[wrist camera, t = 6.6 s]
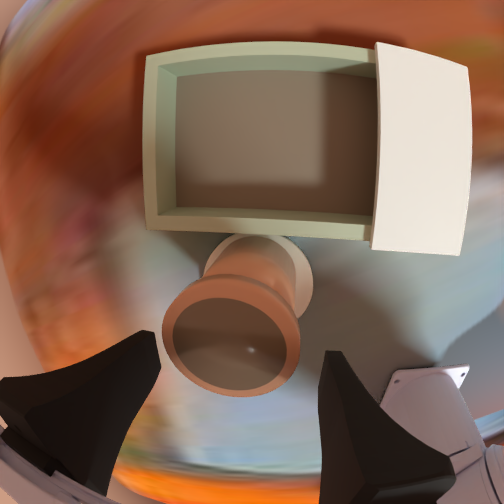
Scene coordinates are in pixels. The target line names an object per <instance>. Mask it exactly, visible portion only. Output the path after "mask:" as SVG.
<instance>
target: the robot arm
mask: <svg viewBox="0 0 504 504" xmlns="http://www.w3.org/2000/svg"><path fill="white" fill-rule="evenodd" d="M160 370H161V363H160V359H159V354H158V349H157V344H156V339H155V334H154V332H151V331H145V330H141V331H139V332H137V333H135V334H133V335H131V336H129V337H128V338H126V339H124V340H122V341H121V342H119V343H117V344H115V345H113V346H111V347H110V348H108V349H106V350H104V351H102V352H100V353H98V354H96V355H94V356H92V357H90V358H88V359H86V360H83V361H81V362H79V363H76V364H73V365H71V366H68V367H65V368H62V369H58V370H54V371H51V372H47V373H42V374H37V375H30V376H22V377H4V378H3V379H2V380H1V381H0V416H1V417H2V418H3V420H4V421H5V423H6V424H7V425H8V427H7V428H6V429H4V428H3V427H2V426H1V425H0V487H1V488H2V489H3V490H4V491H5V492H6V493H7V494H8V495H9V496H11V497H12V498H13V499H14V500H15V501H16V502H17V503H18V504H81V503H82V504H120V503H118V502H115V501H113V500H111V499H109V498H106V495H107V490H108V486H109V482H110V478H111V475H112V471H113V468H114V465H115V462H116V459H117V456H118V453H119V451H120V448H121V446H122V443H123V441H124V438H125V436H126V434H127V431H128V429H129V427H130V425H131V423H132V421H133V420H134V418H135V416H136V415H137V413H138V411H139V410H140V408H141V406H142V405H143V403H144V401H145V400H146V398H147V397H148V395H149V393H150V391H151V390H152V388H153V386H154V384H155V382H156V380H157V377H158V375H159V372H160ZM468 370H469V365H468V364H460V365H452V366H443V367H433V368H422V369H408V370H397V371H395V372H394V373H393V375H392V377H391V380H390V383H389V385H388V387H387V390H386V392H385V395H384V397H383V399H382V402H381V404H380V406H379V405H378V403H377V402H376V401H375V400H374V399H373V397H372V396H371V395H370V394H369V393H368V391H367V390H366V389H365V387H364V386H363V384H362V383H361V382H360V380H359V379H358V377H357V376H356V374H355V373H354V371H353V370H352V368H351V367H350V365H349V363H348V362H347V360H346V358H345V357H344V355H343V353H342V352H341V351H326V352H325V357H324V362H323V367H322V372H321V377H320V381H319V386H318V415H319V425H320V436H321V448H322V470H321V485H320V497H319V504H504V446H500V445H495V444H493V445H491V446H490V447H489V448H486V447H485V444H484V442H483V440H482V437H481V435H480V433H479V431H478V428H477V426H476V424H475V422H474V420H473V418H472V415H471V413H470V411H469V409H468V407H467V405H466V403H465V401H464V399H463V397H462V395H461V393H460V391H459V388H460V386H461V384H462V382H463V380H464V378H465V376H466V374H467V372H468ZM395 380H397V381H395Z"/></svg>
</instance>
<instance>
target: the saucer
mask: <svg viewBox="0 0 504 504" xmlns="http://www.w3.org/2000/svg"><path fill="white" fill-rule="evenodd" d="M248 236H260V237H265V238H268V239H271V240H273V241H275V242H277V243H278V244H280V245H281V246H282V247H283V248H284V249H285V250H286V251H287V252H288V253H289V255H290V256H291V258H292V260H293V262H294V265H295V269H296V290H295V312H294V313H295V315H296V317H297V319H298V318H299V317H300V316H301V315H302V314H303V313H304V311H305V310H306V309H307V307H308V305H309V303H310V300H311V297H312V293H313V276H312V270H311V267H310V264H309V262H308V259H307V258H306V256H305V254H304V253H303V252H302V250H301V249H300V248H299V247H298V246H297V245H296V244H295V243H294V242H292V241H291V240H290V239H288V238H287V237H285V236H281V235H262V234H242V233H236V234H233V235H231V236H229V237H228V238H226V239H225V240H224V241H222V242H221V243H220V244H219V245H218V246H217V247H216V248H215V250H214V251H213V252H212V254H211V255H210V257H209V259H208V261H207V263H206V266H205V270H204V274H205V273H206V271H207V270H208V269H209V268H210V266H211V265H212V264H213V263H214V261H215V260H216V259H217V257H218V256H219V255H220V254H221V252H222V251H223V250H224V249H225V248H226V247H227V246H228V245H229V244H230V243H232V242H233V241H235V240H237V239H240V238H243V237H248Z"/></svg>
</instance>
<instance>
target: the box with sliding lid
mask: <svg viewBox="0 0 504 504" xmlns="http://www.w3.org/2000/svg"><path fill="white" fill-rule="evenodd" d="M374 47H375V50H372V49H366V48H359V47H352V46H344V45H335V44H324V43H310V42H282V41H269V42H241V43H227V44H216V45H207V46H199V47H192V48H185V49H179V50H173V51H168V52H162V53H157V54H153V55H148V56H146V66H145V79H144V97H143V135H142V150H143V188H144V207H145V222H146V230H171V231H197V232H221V233H242V234H262V235H281V236H299V237H316V238H333V239H348V240H363V241H370V245H369V247H370V248H371V249H372V250H385V251H401V252H415V253H430V254H444V255H458V256H459V255H460V250H461V245H462V240H463V235H464V229H465V222H466V215H467V208H468V200H469V190H470V178H471V161H472V113H471V97H470V86H469V77H468V69H467V67H465V66H463V65H460V64H457V63H454V62H452V61H449V60H446V59H443V58H440V57H436V56H433V55H430V54H426V53H423V52H419V51H415V50H412V49H408V48H403V47H399V46H395V45H390V44H385V43H380V42H376V44H375V45H374Z"/></svg>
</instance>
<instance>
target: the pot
mask: <svg viewBox="0 0 504 504" xmlns="http://www.w3.org/2000/svg"><path fill="white" fill-rule="evenodd" d="M295 290H296V269H295V265H294V262H293V260H292V258H291V256H290V255H289V253H288V252H287V251H286V250H285V249H284V248H283V247H282V246H281V245H280V244H278V243H277V242H275V241H273V240H271V239H268V238H265V237H260V236H248V237H243V238H240V239H237V240H235V241H233V242H232V243H230V244H229V245H228V246H227V247H226V248H225V249H224V250H223V251H222V252H221V254H220V255H219V256H218V257H217V259H216V260H215V261H214V263H213V264H212V265H211V266H210V268H209V269H208V270H207V271H206V273H205V274H204V275H203V277H202V278H201V279H198V280H196V281H195V282H193V283H191V284H190V285H188V286H187V287H186V288H185V289H184V290H183V291H182V292H181V293H180V294H179V295H178V297H177V298H176V299H175V300H174V301H173V303H172V304H171V305H170V307H169V308H168V310H167V311H166V314H165V316H164V319H163V324H162V339H163V343H164V347H165V349H166V352H167V354H168V356H169V357H170V359H171V361H172V362H173V364H174V365H175V366H176V367H177V368H178V370H179V371H180V372H181V373H182V374H183V375H185V376H186V377H187V378H188V379H189V380H191V381H192V382H194V383H195V384H197V385H199V386H200V387H202V388H204V389H206V390H209V391H211V392H214V393H217V394H221V395H226V396H232V397H252V396H258V395H262V394H265V393H268V392H271V391H273V390H275V389H277V388H278V387H280V386H281V385H283V384H284V383H285V382H286V381H287V380H288V379H289V378H290V377H291V376H292V374H293V373H294V371H295V369H296V367H297V364H298V361H299V357H300V326H299V323H298V320H297V317H296V315H295V313H294V312H295Z"/></svg>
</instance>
